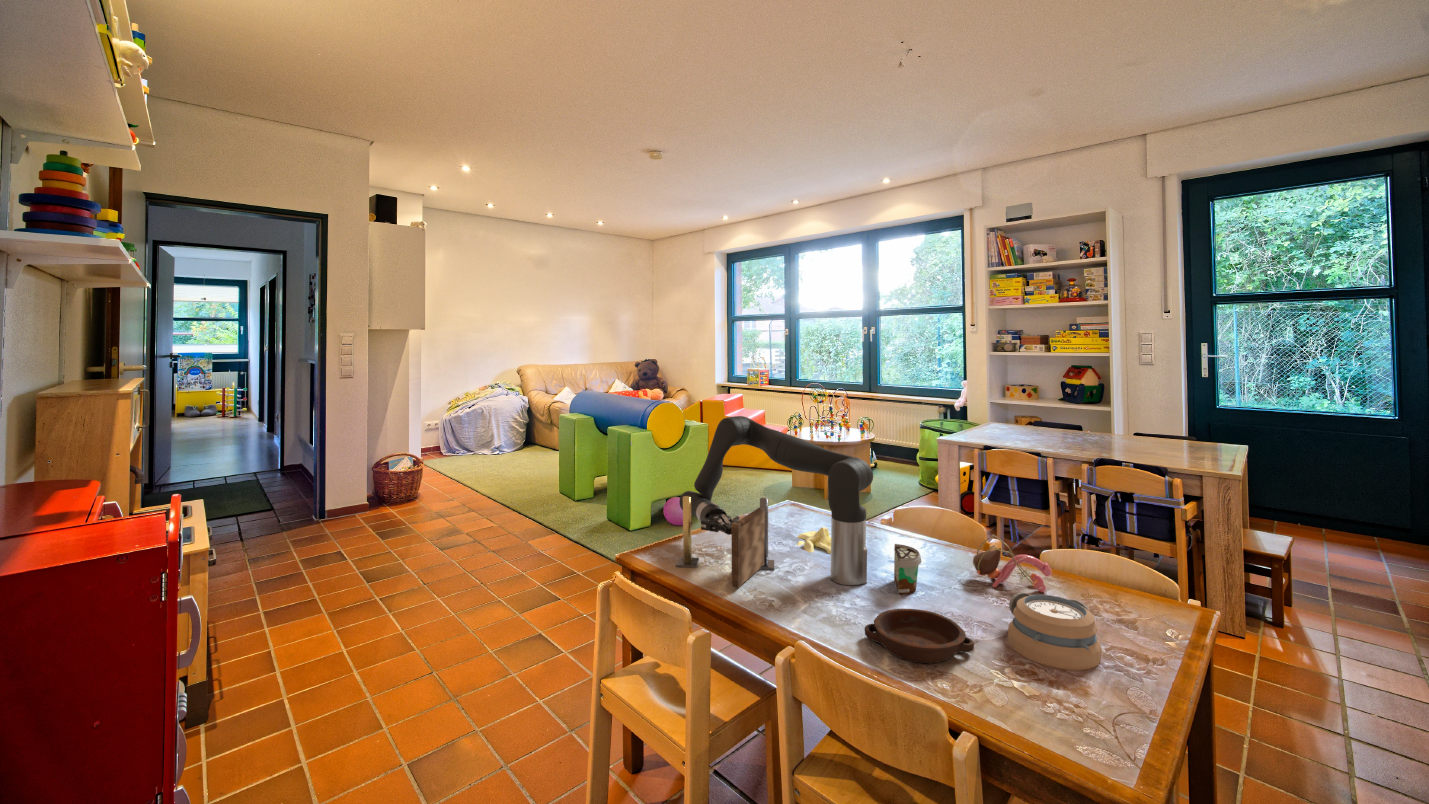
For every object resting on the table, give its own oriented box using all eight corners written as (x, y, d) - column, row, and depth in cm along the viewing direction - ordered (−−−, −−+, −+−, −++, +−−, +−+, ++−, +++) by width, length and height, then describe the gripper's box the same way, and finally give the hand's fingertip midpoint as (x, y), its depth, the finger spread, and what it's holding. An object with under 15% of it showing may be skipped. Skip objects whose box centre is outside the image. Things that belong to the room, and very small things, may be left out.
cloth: (801, 532, 199) (802, 515, 199) (856, 539, 192) (856, 521, 191) (781, 553, 179) (782, 534, 178) (841, 562, 171) (841, 542, 171)
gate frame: (774, 561, 171) (774, 496, 169) (774, 569, 165) (774, 501, 163) (679, 559, 174) (678, 494, 172) (676, 566, 168) (675, 499, 166)
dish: (980, 679, 111) (981, 654, 111) (863, 662, 117) (863, 639, 117) (967, 635, 128) (968, 613, 127) (865, 622, 134) (865, 602, 133)
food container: (924, 599, 145) (925, 561, 144) (898, 597, 146) (899, 559, 145) (917, 580, 157) (918, 544, 156) (893, 578, 158) (894, 543, 157)
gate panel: (758, 563, 167) (758, 505, 166) (765, 564, 166) (765, 506, 165) (731, 586, 151) (731, 523, 150) (738, 587, 150) (738, 524, 149)
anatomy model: (1064, 586, 144) (1016, 532, 147) (1011, 617, 149) (966, 565, 152) (1057, 569, 154) (1012, 520, 157) (1007, 599, 159) (965, 550, 163)
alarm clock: (1013, 617, 116) (1003, 574, 138) (1011, 660, 117) (1002, 611, 139) (1113, 632, 110) (1087, 585, 131) (1110, 678, 111) (1085, 624, 132)
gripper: (690, 506, 178) (708, 521, 162) (730, 501, 183) (752, 515, 166) (691, 529, 179) (709, 547, 163) (730, 524, 183) (752, 541, 167)
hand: (730, 531), depth 165 cm, fingers closed
